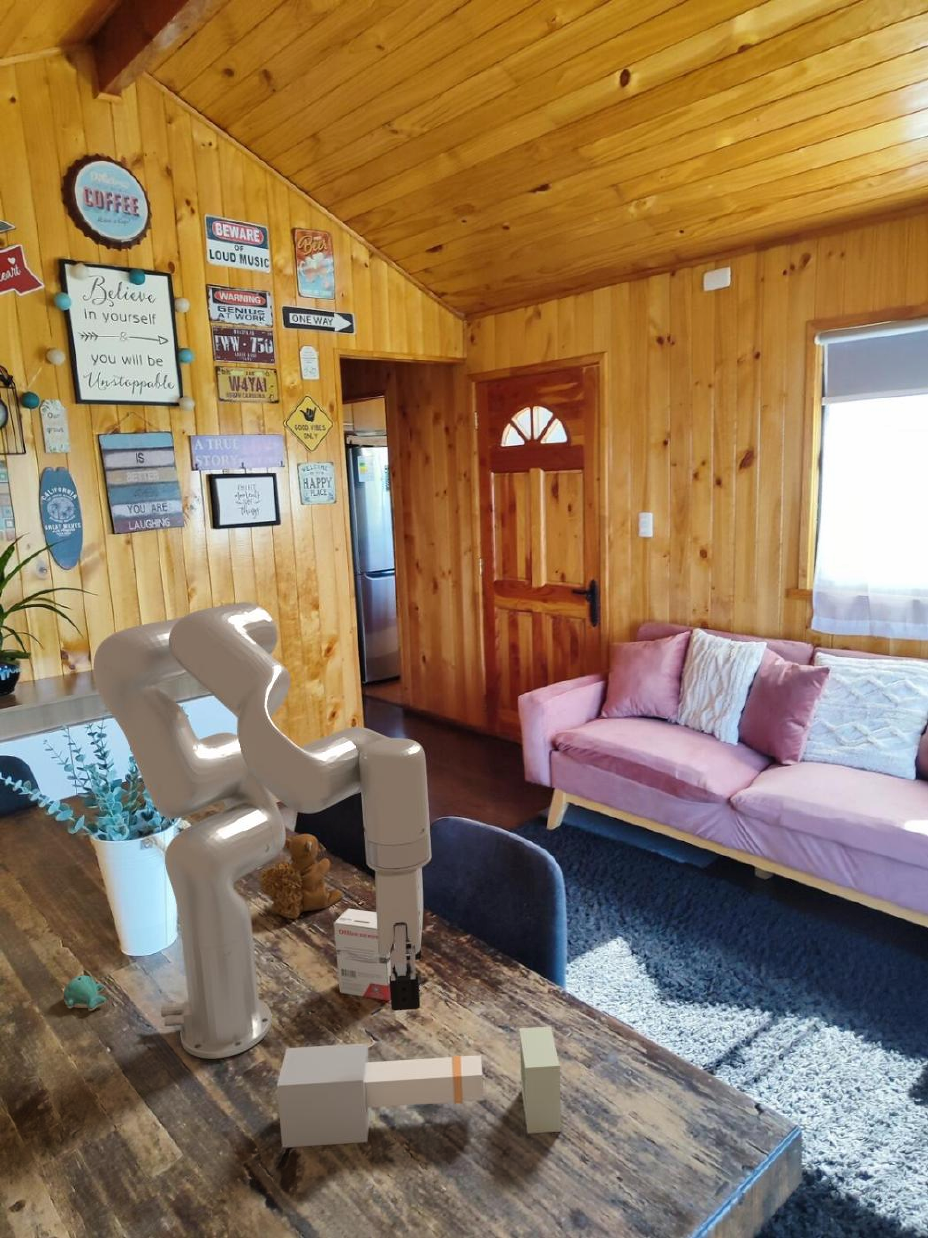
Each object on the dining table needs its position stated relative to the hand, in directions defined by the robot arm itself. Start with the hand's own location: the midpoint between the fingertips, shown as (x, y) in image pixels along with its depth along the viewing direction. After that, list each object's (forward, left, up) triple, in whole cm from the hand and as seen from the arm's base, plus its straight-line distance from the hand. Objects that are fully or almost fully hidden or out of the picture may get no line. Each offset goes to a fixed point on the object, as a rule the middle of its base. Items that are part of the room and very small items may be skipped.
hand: (407, 982), depth 97 cm
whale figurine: (-51, +28, -19) cm, 61 cm away
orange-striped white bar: (-4, 0, -15) cm, 15 cm away
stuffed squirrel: (-23, +53, -19) cm, 61 cm away
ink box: (-8, +27, -19) cm, 34 cm away
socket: (+15, 0, -18) cm, 24 cm away
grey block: (-11, 0, -18) cm, 21 cm away
